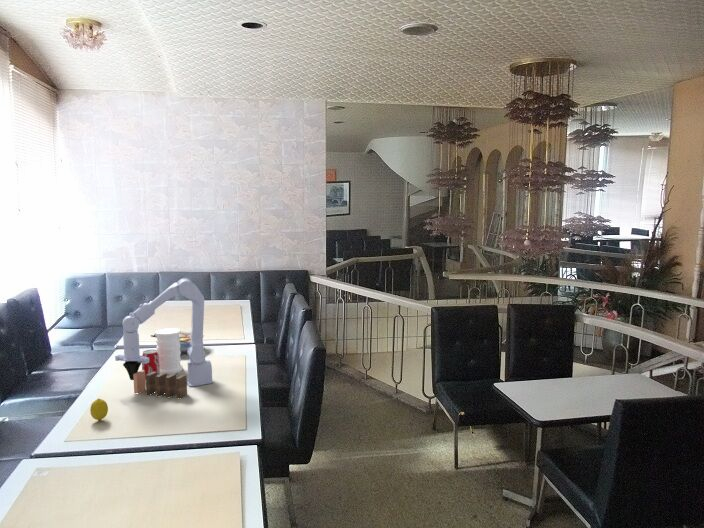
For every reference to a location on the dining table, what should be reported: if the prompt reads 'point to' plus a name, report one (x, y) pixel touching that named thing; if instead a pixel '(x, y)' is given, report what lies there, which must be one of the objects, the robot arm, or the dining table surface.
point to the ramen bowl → (183, 341)
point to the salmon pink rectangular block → (139, 381)
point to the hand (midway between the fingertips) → (133, 379)
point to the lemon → (99, 409)
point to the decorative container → (169, 350)
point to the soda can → (151, 362)
